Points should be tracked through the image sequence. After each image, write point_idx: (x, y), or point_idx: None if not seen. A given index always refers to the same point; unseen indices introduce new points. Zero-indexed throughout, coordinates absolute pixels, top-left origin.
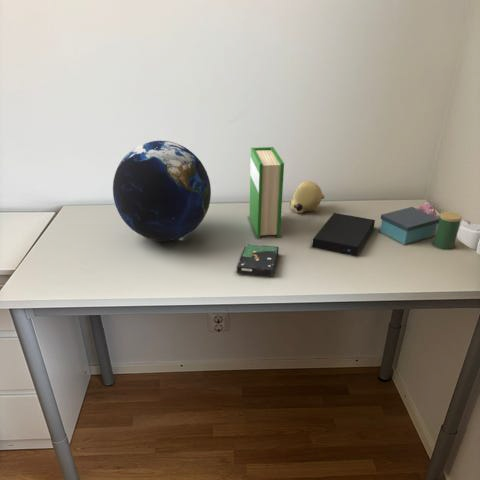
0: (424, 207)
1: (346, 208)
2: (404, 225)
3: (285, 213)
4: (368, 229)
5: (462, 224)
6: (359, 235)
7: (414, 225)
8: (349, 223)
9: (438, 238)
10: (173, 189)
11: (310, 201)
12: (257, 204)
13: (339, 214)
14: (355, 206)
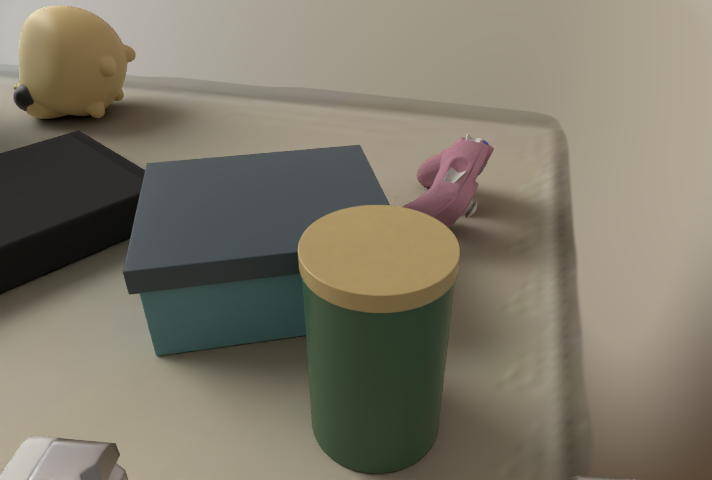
0: (442, 156)
1: (221, 123)
2: (132, 250)
3: (4, 114)
4: (43, 230)
5: None
6: None
7: (186, 261)
8: (31, 184)
9: (309, 382)
10: None
11: (45, 79)
12: None
13: (82, 139)
14: (263, 120)
